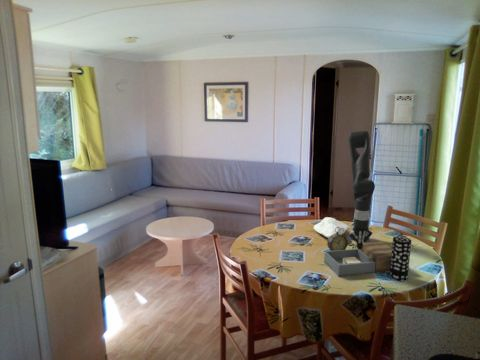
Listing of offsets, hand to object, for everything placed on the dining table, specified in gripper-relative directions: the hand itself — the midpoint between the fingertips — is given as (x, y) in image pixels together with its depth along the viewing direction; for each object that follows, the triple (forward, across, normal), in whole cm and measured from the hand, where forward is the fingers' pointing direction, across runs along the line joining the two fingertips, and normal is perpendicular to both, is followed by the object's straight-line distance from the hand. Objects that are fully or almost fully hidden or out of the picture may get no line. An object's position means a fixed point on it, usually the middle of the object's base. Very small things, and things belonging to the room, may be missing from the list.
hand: (359, 248), depth 192 cm
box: (+10, +6, 0) cm, 11 cm away
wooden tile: (+6, +4, 0) cm, 7 cm away
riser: (+10, -12, 0) cm, 16 cm away
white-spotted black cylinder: (+10, -14, +15) cm, 23 cm away
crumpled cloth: (+10, -7, -48) cm, 50 cm away
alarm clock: (+10, +4, -18) cm, 21 cm away
